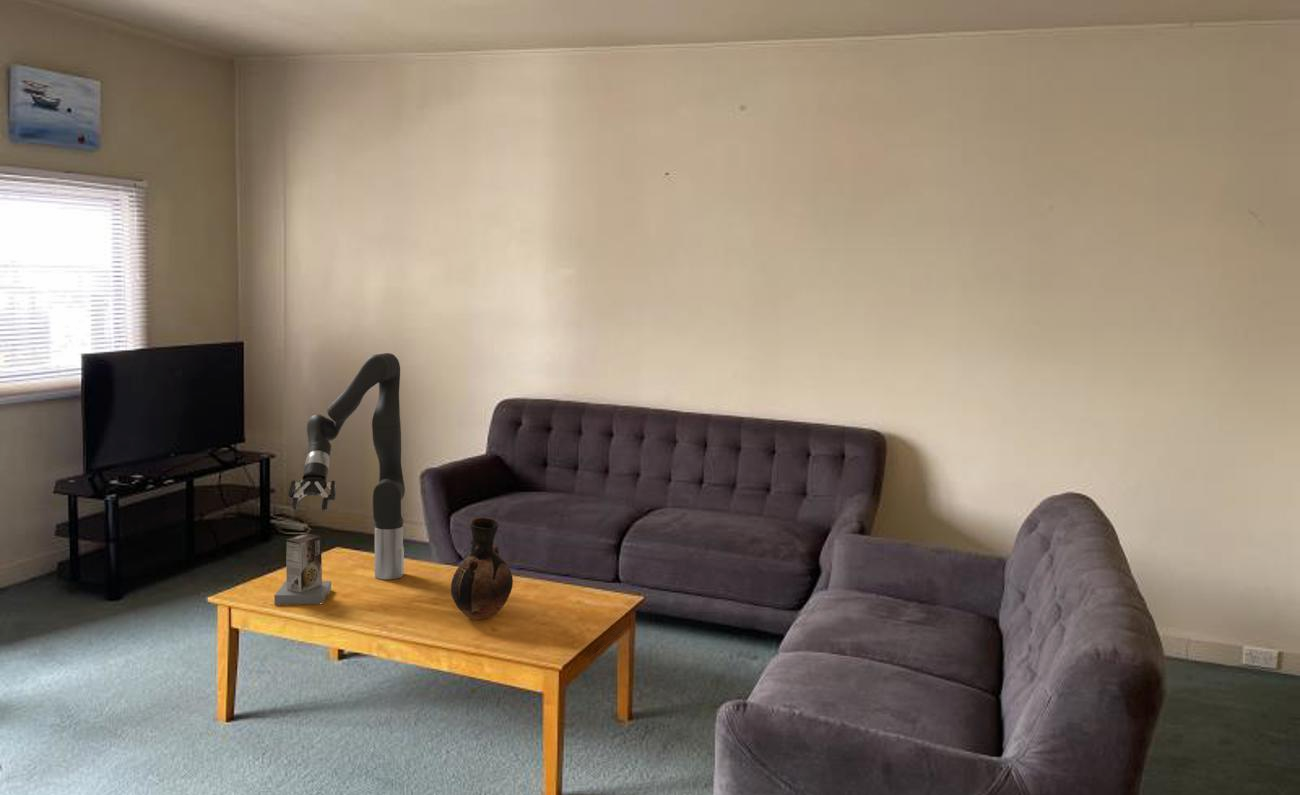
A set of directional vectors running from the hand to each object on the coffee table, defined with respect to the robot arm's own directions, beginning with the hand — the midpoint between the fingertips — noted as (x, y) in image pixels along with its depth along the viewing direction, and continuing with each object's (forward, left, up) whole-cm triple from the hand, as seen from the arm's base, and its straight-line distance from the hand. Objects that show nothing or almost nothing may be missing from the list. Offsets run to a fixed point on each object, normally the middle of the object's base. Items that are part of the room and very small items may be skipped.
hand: (309, 509), depth 309 cm
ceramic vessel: (-56, +28, -26) cm, 68 cm away
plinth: (0, +9, -26) cm, 27 cm away
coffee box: (0, +8, -23) cm, 25 cm away
